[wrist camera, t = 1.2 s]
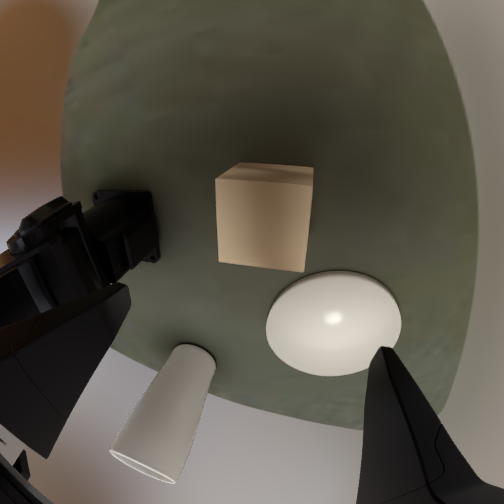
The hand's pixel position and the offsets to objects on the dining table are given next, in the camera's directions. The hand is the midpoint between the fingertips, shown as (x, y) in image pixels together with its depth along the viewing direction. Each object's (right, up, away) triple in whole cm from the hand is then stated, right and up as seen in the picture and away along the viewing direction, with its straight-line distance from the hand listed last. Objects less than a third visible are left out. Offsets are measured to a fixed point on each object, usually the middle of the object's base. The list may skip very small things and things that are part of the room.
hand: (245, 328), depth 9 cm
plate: (+8, -4, +14) cm, 17 cm away
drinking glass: (-6, -10, +21) cm, 24 cm away
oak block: (+2, +6, +10) cm, 12 cm away
